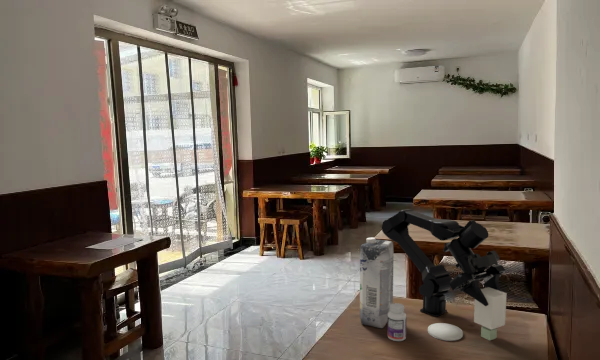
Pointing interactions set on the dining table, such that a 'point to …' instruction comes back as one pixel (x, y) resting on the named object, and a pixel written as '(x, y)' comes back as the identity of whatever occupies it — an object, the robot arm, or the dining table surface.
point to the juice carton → (376, 281)
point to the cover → (491, 309)
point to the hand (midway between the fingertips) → (494, 303)
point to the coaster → (445, 332)
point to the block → (488, 333)
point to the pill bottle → (397, 322)
